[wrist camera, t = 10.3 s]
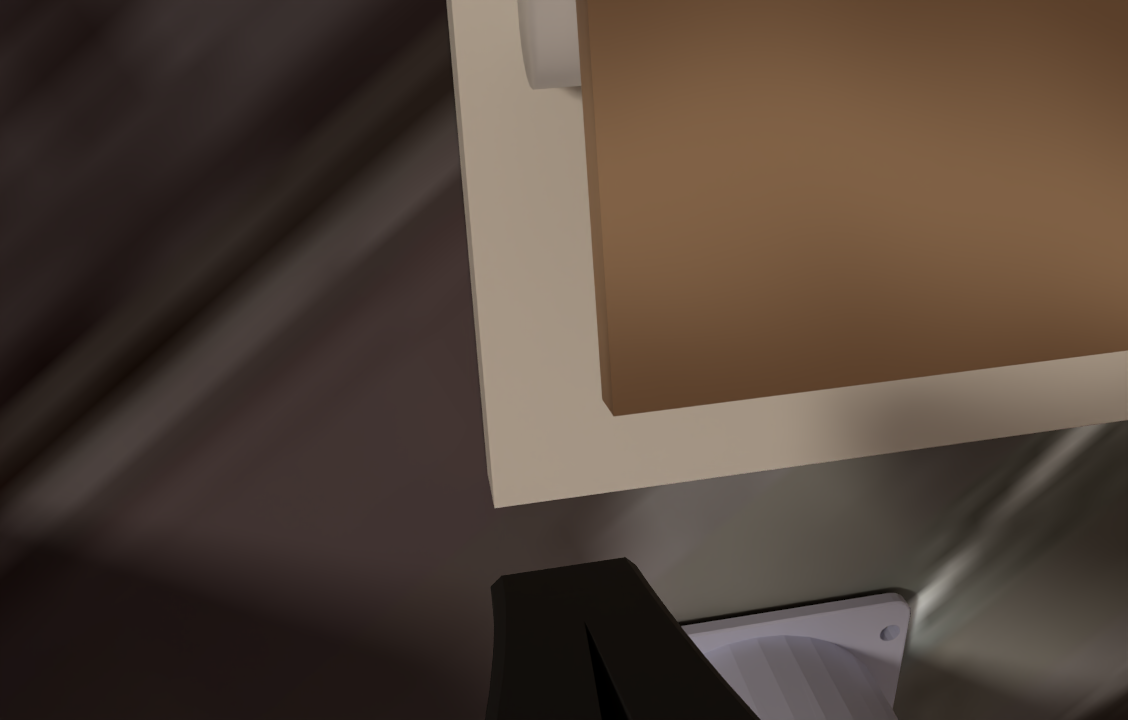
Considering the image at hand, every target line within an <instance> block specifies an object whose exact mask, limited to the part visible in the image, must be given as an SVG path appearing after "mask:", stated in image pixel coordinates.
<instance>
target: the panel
mask: <svg viewBox="0 0 1128 720" xmlns="http://www.w3.org/2000/svg"><path fill="white" fill-rule="evenodd" d="M446 1H447V13H448V24H449V35H450V47H451V58H452V70H453V81H454V93H455V104H456V116H457V127H458V139H459V150H460V162H461V173H462V185H463V196H464V208H465V219H466V230H467V242H468V253H469V265H470V276H471V288H472V299H473V311H474V322H475V334H476V345H477V357H478V368H479V380H480V391H481V403H482V414H483V425H484V437H485V448H486V460H487V471H488V477H489V482H490V488H491V493H492V498H493V503H494V508H499V507H506V506H513V505H521V504H528V503H535V502H542V501H549V500H556V499H564V498H571V497H578V496H585V495H592V494H600V493H607V492H614V491H621V490H628V489H635V488H643V487H650V486H657V485H664V484H671V483H679V482H686V481H693V480H700V479H707V478H714V477H722V476H729V475H736V474H743V473H750V472H758V471H765V470H772V469H779V468H786V467H794V466H801V465H808V464H815V463H822V462H829V461H837V460H844V459H851V458H858V457H865V456H873V455H880V454H887V453H894V452H901V451H908V450H916V449H923V448H930V447H937V446H944V445H952V444H959V443H966V442H973V441H980V440H987V439H995V438H1002V437H1009V436H1016V435H1023V434H1031V433H1038V432H1045V431H1052V430H1059V429H1066V428H1074V427H1081V426H1088V425H1095V424H1102V423H1110V422H1117V421H1124V420H1128V351H1120V352H1113V353H1105V354H1097V355H1089V356H1081V357H1074V358H1066V359H1058V360H1050V361H1042V362H1035V363H1027V364H1019V365H1011V366H1004V367H996V368H988V369H980V370H972V371H965V372H957V373H949V374H941V375H933V376H926V377H918V378H910V379H902V380H895V381H887V382H879V383H871V384H863V385H856V386H848V387H840V388H832V389H824V390H817V391H809V392H801V393H793V394H786V395H778V396H770V397H762V398H754V399H747V400H739V401H731V402H723V403H715V404H708V405H700V406H692V407H684V408H677V409H669V410H661V411H653V412H645V413H638V414H630V415H622V416H613V415H612V413H611V412H610V410H609V409H608V407H607V406H606V404H605V403H604V401H603V400H602V391H601V375H600V360H599V345H598V330H597V315H596V300H595V285H594V270H593V255H592V240H591V225H590V210H589V195H588V180H587V165H586V149H585V134H584V119H583V104H582V89H581V74H580V59H579V44H578V29H577V14H576V0H446Z"/></svg>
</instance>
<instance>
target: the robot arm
mask: <svg viewBox="0 0 1128 720" xmlns="http://www.w3.org/2000/svg"><path fill="white" fill-rule="evenodd" d="M491 595H492V606H493V616H494V648H493V661H492V671H491V681H490V691H489V698H488V704H487V710H486V717H485V720H898V718H897V716H896V715H895V713H894V711H893V705H894V700H895V695H896V690H897V684H898V679H899V674H900V668H901V663H902V658H903V652H904V647H905V642H906V636H907V631H908V626H909V620H910V615H911V610H910V607H909V605H908V604H907V602H906V601H905V599H904V598H903V597H902V595H899V594H897V593H885V594H879V595H873V596H866V597H860V598H854V599H848V600H841V601H835V602H829V603H823V604H816V605H810V606H804V607H798V608H791V609H785V610H779V611H773V612H766V613H760V614H754V615H748V616H741V617H735V618H729V619H723V620H716V621H710V622H704V623H698V624H691V625H685V626H680V625H679V623H678V622H677V621H676V619H675V618H674V617H673V616H672V614H671V613H670V612H669V610H668V609H667V608H666V606H665V605H664V604H663V602H662V601H661V600H660V598H659V597H658V596H657V594H656V593H655V592H654V590H653V589H652V587H651V586H650V585H649V583H648V582H647V580H646V579H645V578H644V576H643V575H642V573H641V572H640V570H639V569H638V567H637V566H636V565H635V564H634V563H632V562H631V561H630V560H628V559H627V558H626V557H624V558H618V559H611V560H604V561H598V562H591V563H584V564H577V565H571V566H564V567H557V568H551V569H544V570H537V571H530V572H524V573H517V574H510V575H504V576H501V577H500V578H499V579H498V580H497V581H496V582H495V583H494V584H493V585H492V586H491ZM887 626H888V627H887ZM885 627H887V628H885Z"/></svg>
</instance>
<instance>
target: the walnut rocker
mask: <svg viewBox="0 0 1128 720" xmlns="http://www.w3.org/2000/svg"><path fill="white" fill-rule="evenodd" d="M576 14H577V29H578V44H579V59H580V74H581V89H582V104H583V119H584V134H585V149H586V165H587V180H588V195H589V210H590V225H591V240H592V255H593V270H594V285H595V300H596V315H597V330H598V345H599V360H600V375H601V391H602V400H603V401H604V403H605V404H606V406H607V407H608V409H609V410H610V412H611V413H612V415H613V416H622V415H630V414H638V413H645V412H653V411H661V410H669V409H677V408H684V407H692V406H700V405H708V404H715V403H723V402H731V401H739V400H747V399H754V398H762V397H770V396H778V395H786V394H793V393H801V392H809V391H817V390H824V389H832V388H840V387H848V386H856V385H863V384H871V383H879V382H887V381H895V380H902V379H910V378H918V377H926V376H933V375H941V374H949V373H957V372H965V371H972V370H980V369H988V368H996V367H1004V366H1011V365H1019V364H1027V363H1035V362H1042V361H1050V360H1058V359H1066V358H1074V357H1081V356H1089V355H1097V354H1105V353H1113V352H1120V351H1128V0H576Z"/></svg>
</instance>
